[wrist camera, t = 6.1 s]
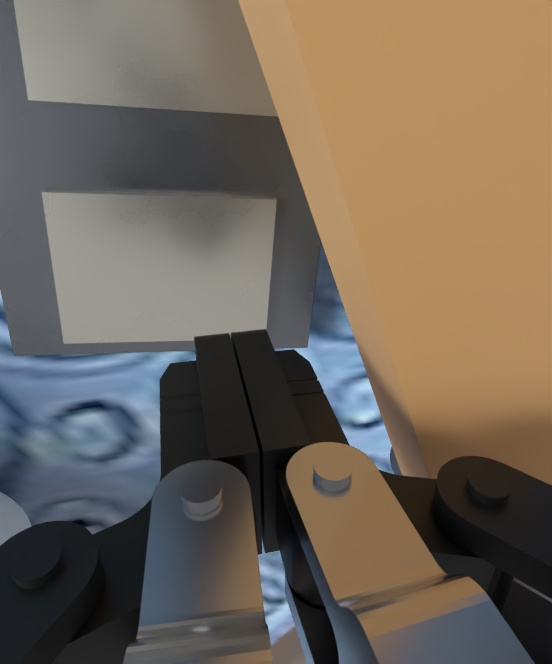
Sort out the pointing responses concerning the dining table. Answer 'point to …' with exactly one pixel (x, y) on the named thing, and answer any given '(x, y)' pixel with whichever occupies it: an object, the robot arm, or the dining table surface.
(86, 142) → the label plate
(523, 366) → the swing bar
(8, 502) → the cable organizer
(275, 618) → the dining table surface
